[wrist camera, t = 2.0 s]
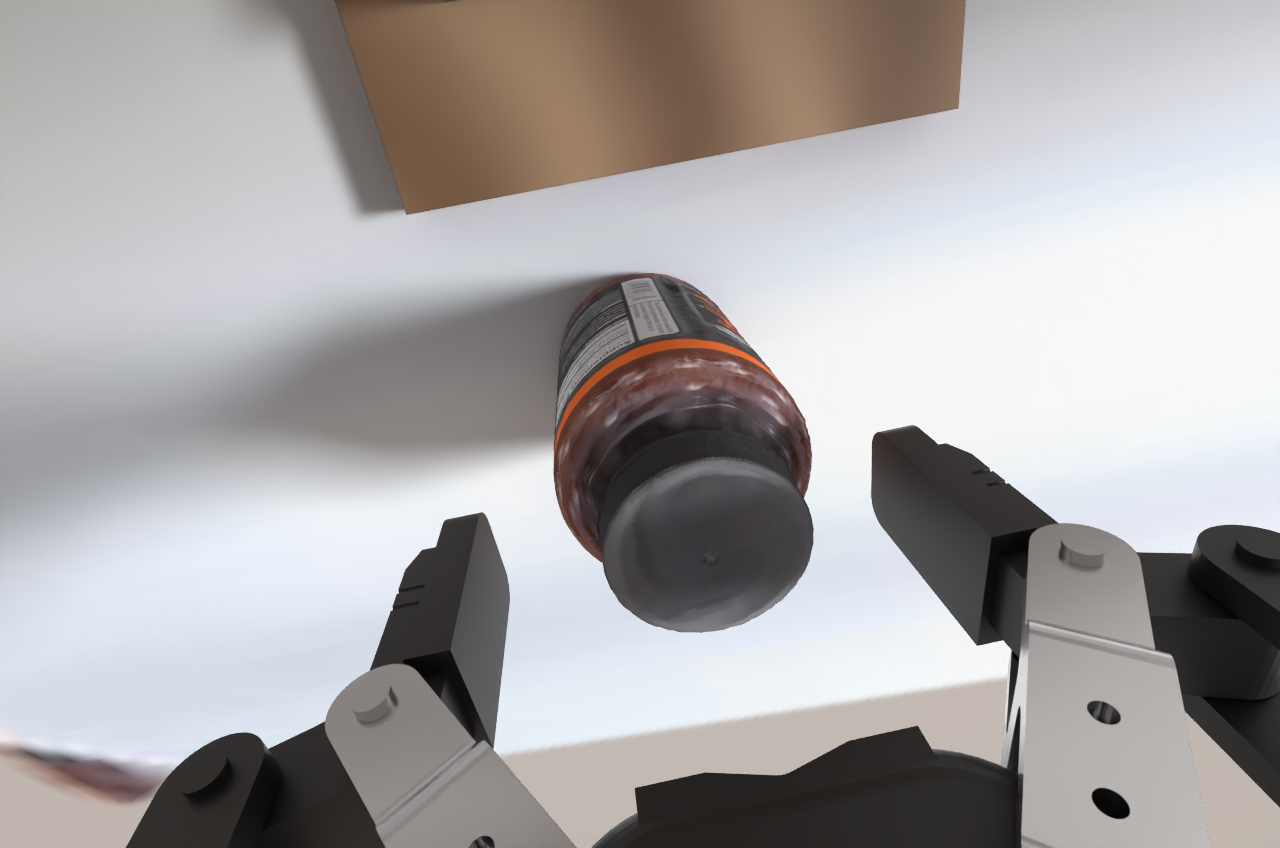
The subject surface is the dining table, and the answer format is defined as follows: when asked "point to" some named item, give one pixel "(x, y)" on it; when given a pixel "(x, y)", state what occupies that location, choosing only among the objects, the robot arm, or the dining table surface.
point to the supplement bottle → (679, 457)
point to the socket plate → (632, 82)
